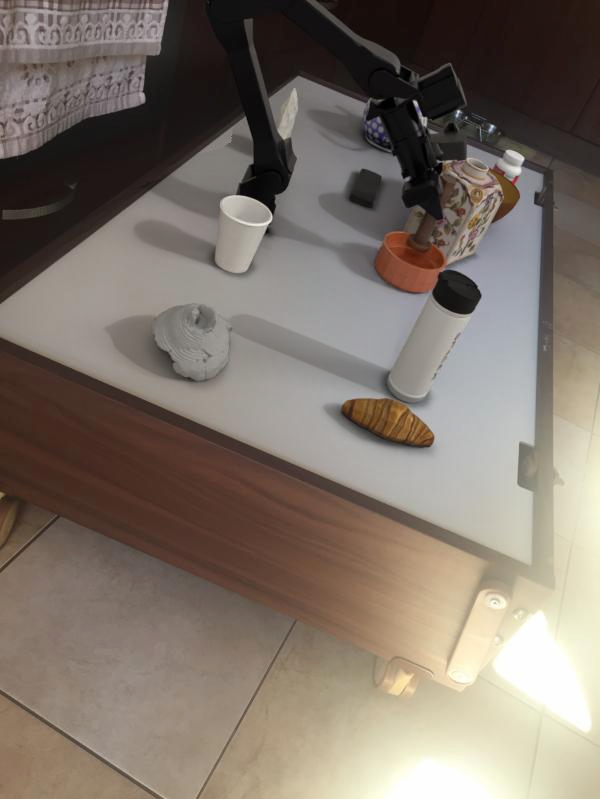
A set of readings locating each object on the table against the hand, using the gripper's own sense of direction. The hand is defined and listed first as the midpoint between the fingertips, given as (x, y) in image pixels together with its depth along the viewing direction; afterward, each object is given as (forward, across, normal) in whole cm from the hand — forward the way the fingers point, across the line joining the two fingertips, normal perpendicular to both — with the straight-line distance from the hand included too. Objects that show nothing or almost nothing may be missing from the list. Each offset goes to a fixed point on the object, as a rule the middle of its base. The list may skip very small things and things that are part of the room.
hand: (440, 215), depth 125 cm
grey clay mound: (-12, -41, +32) cm, 53 cm away
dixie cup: (-12, -15, +31) cm, 37 cm away
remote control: (+2, +30, +17) cm, 34 cm away
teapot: (+4, +59, +15) cm, 61 cm away
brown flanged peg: (+4, 0, +6) cm, 7 cm away
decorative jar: (+13, +16, +6) cm, 22 cm away
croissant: (+8, -43, +11) cm, 45 cm away
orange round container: (+8, 0, +10) cm, 13 cm away
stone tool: (-12, +30, +32) cm, 45 cm away
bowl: (+17, +31, +2) cm, 35 cm away
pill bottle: (+23, +50, -5) cm, 56 cm away
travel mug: (+9, -32, +10) cm, 35 cm away
